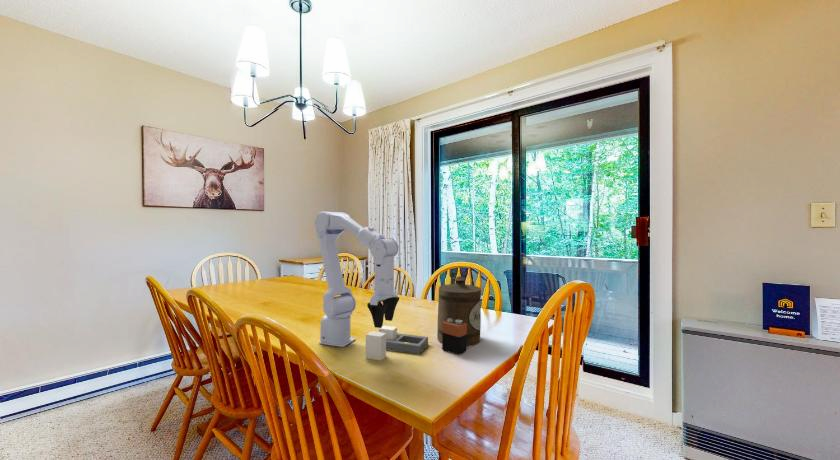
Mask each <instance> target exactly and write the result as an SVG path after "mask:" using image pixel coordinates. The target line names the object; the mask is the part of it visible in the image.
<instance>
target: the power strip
mask: <svg viewBox="0 0 840 460" xmlns="http://www.w3.org/2000/svg"><path fill="white" fill-rule="evenodd" d="M378 332H382V333H386V351H387V350H388V351H393V352H394V351H395V352H400V353H401V352H402V353H408V354H415V355H420V354H421V353H422V352H423V351H424V350H425V348H426V347H427V346H429V337H428V336H425V335H424V336H423V335H417V334H416V335H414V334H406V333H400V332H398V326H392V325H382V328H378Z"/></svg>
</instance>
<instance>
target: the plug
mask: <svg viewBox="0 0 840 460" xmlns="http://www.w3.org/2000/svg"><path fill="white" fill-rule="evenodd" d="M386 353H387V350H386V333H382V332H379V331H373V330H370V331H369V332H368V333H366V334H365V359H370V360H375V361H382V360H383V359H384V358H385V357H387V354H386Z"/></svg>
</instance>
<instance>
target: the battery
mask: <svg viewBox="0 0 840 460" xmlns="http://www.w3.org/2000/svg"><path fill="white" fill-rule="evenodd" d="M441 349H442V350H443V351H445V352H448V353H451V354H454V355H458V356H459V355H462V354H464V353H466V352H467V324H466V323H464V322H462V320H452V318H448V320H447V321H444V322H443V326H442V343H441Z"/></svg>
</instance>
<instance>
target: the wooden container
mask: <svg viewBox="0 0 840 460" xmlns="http://www.w3.org/2000/svg"><path fill="white" fill-rule="evenodd" d="M454 282H455V283H449V284H441V285H440V286H439V287H438V301H437V302H438V304H437V331H436V332H437V333H436V334H437V336H436V337H437V341H439V343H441V344H442V326H443V322H444V321H447V320H448V318H452V320H462V322H464V323H466V324H467V347H473V346H476V345H478V344H479V343H480V342H481V327H482V326H481V322H482V321H481V319H482V317H481V312H482V311H481V306H482V305H481V304H482V303H481V300H482V299H481V298H482V297H481V296H482V288H481V287H479V286H478V285H473V284H466V283H465V278H464V277H463V276H456V277H455V278H454Z"/></svg>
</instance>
